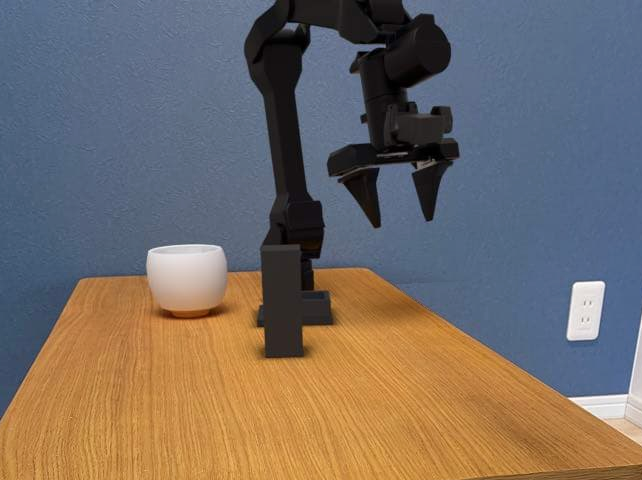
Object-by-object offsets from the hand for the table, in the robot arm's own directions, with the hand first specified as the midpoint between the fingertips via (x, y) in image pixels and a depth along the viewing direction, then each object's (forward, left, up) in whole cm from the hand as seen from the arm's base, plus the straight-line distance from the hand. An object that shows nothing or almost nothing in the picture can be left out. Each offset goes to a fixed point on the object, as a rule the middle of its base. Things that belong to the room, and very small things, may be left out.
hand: (404, 224), depth 116 cm
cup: (-33, -9, -14) cm, 37 cm away
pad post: (-5, -20, -14) cm, 25 cm away
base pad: (-17, -3, -14) cm, 22 cm away
